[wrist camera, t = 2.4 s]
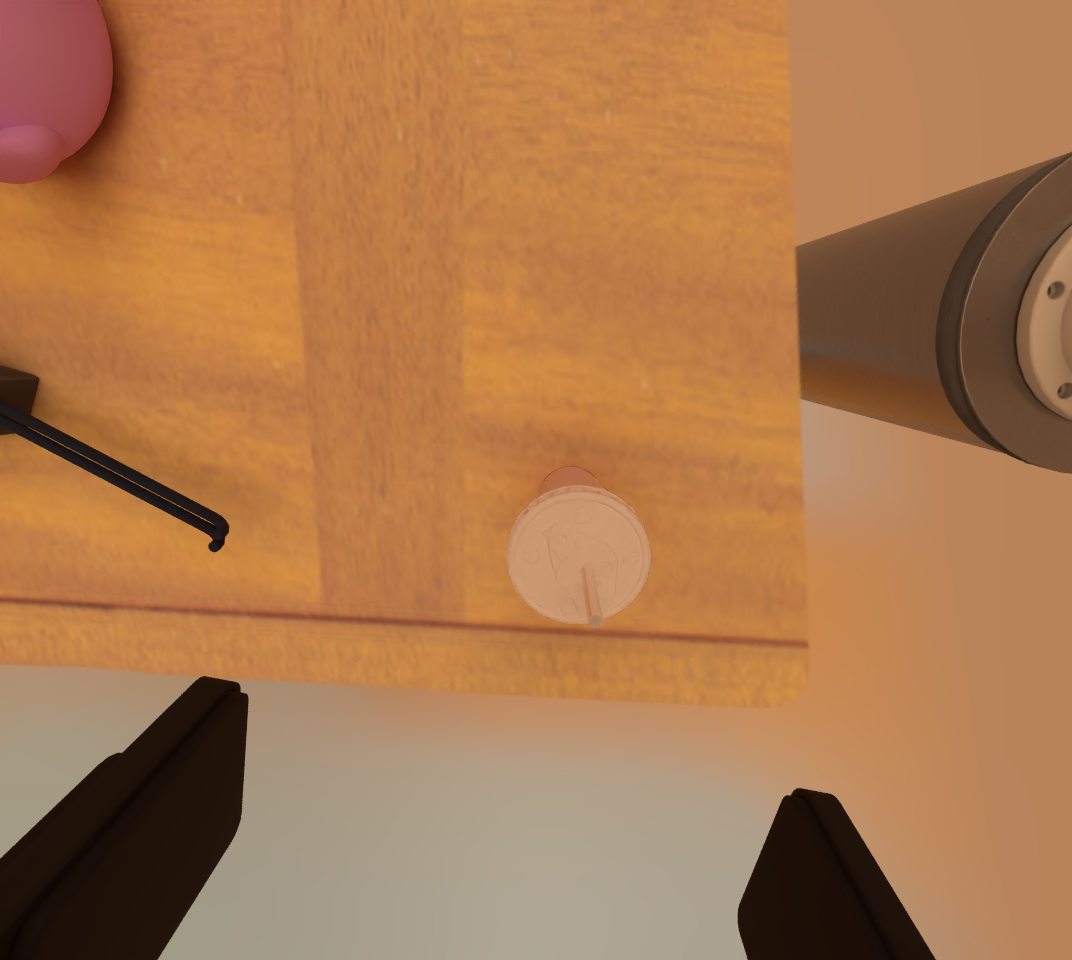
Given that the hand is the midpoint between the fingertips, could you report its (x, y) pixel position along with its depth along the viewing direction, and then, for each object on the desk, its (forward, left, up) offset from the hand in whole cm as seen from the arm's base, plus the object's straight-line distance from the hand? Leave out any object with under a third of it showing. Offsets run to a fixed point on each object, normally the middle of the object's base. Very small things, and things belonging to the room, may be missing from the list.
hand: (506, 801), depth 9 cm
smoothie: (-2, +2, -24) cm, 24 cm away
